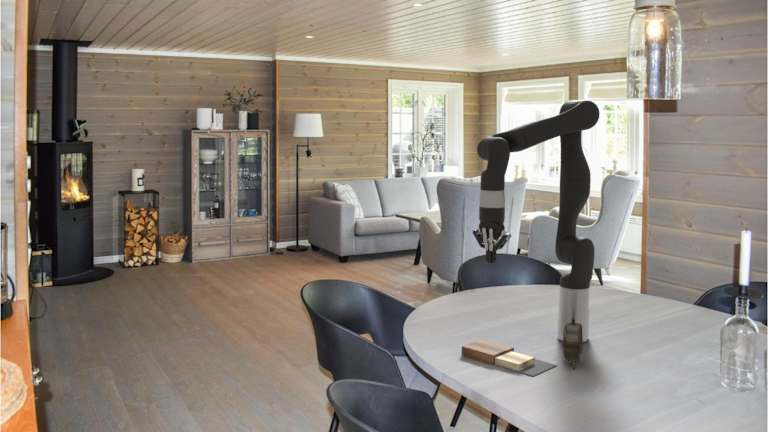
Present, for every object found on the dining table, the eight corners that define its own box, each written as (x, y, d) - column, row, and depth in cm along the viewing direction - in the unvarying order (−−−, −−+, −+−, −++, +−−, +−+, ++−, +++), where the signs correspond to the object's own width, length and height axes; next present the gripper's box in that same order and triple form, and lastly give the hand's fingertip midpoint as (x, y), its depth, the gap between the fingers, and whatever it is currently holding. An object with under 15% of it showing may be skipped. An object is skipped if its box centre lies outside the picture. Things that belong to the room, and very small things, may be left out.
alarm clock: (579, 371, 194) (581, 314, 192) (559, 369, 196) (561, 312, 194) (582, 359, 204) (584, 305, 202) (563, 357, 206) (565, 303, 204)
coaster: (510, 357, 205) (510, 351, 204) (534, 364, 199) (534, 357, 199) (494, 364, 199) (495, 357, 199) (518, 371, 194) (519, 364, 193)
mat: (518, 355, 208) (518, 354, 208) (557, 366, 199) (557, 365, 199) (494, 365, 199) (494, 364, 199) (533, 376, 190) (533, 375, 190)
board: (482, 348, 214) (482, 338, 214) (513, 357, 206) (513, 347, 206) (461, 355, 207) (461, 346, 207) (493, 365, 199) (493, 355, 199)
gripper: (518, 206, 204) (516, 264, 207) (481, 202, 214) (480, 258, 216) (503, 208, 199) (501, 268, 201) (466, 204, 208) (465, 261, 211)
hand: (490, 262), depth 209 cm, fingers closed
